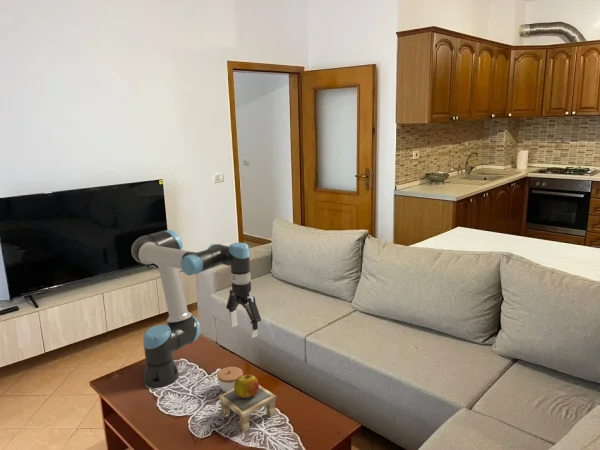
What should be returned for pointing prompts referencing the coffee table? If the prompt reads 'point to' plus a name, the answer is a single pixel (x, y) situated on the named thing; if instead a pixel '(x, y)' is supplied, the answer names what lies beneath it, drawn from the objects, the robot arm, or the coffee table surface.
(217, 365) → the coffee table surface
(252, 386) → the fruit
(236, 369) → the lidded jar
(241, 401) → the stool
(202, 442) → the coffee table surface
